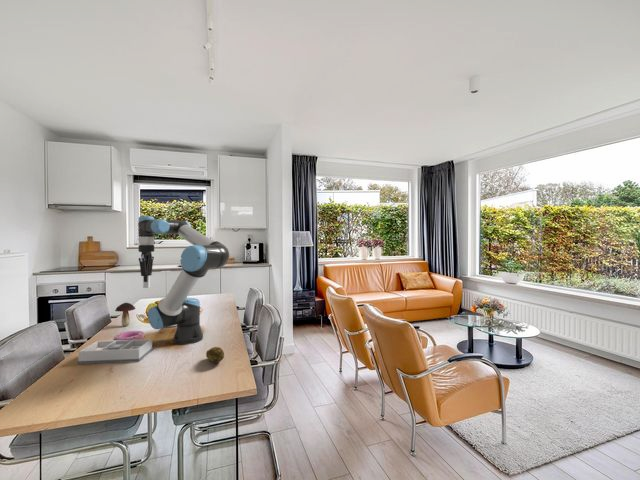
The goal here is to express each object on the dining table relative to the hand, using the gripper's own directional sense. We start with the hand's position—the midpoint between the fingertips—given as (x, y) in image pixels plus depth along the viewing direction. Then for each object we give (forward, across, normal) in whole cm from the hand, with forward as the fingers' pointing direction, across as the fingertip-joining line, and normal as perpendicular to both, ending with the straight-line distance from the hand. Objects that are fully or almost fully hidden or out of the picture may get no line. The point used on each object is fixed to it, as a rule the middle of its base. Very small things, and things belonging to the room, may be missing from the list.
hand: (146, 287), depth 163 cm
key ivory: (+28, +21, +4) cm, 35 cm away
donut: (+30, +2, -8) cm, 31 cm away
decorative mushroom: (+30, -30, -26) cm, 50 cm away
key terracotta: (+28, +21, -12) cm, 37 cm away
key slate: (+27, +21, -4) cm, 34 cm away
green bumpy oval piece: (+30, +33, +44) cm, 62 cm away
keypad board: (+29, +21, -4) cm, 36 cm away
